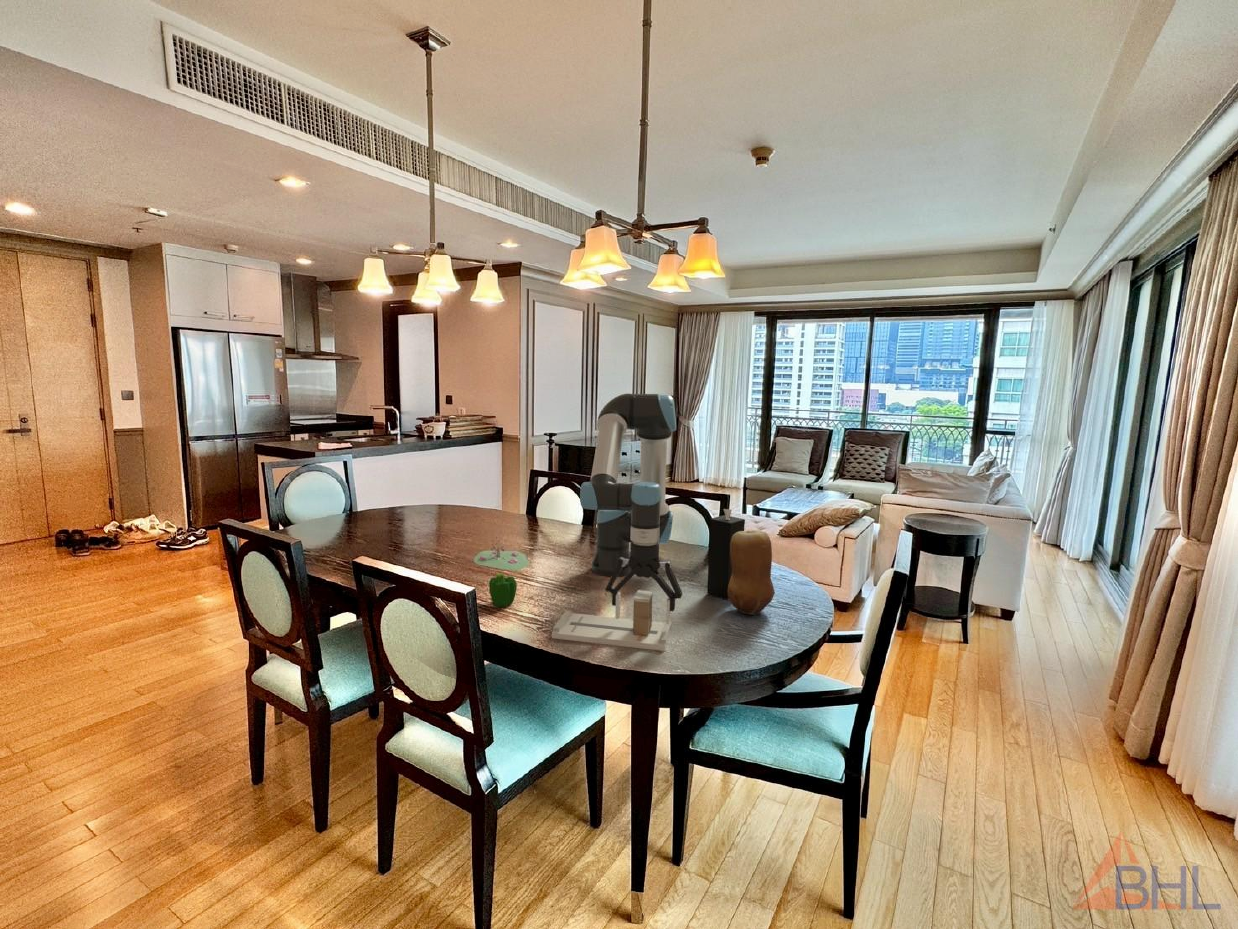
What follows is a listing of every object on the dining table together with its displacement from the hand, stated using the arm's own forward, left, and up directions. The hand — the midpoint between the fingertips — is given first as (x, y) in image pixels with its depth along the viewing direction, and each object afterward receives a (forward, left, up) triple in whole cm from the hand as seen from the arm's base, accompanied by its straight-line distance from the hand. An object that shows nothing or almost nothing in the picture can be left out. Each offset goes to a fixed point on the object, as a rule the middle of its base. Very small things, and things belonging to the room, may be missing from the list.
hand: (642, 619), depth 158 cm
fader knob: (0, 0, -3) cm, 3 cm away
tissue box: (-38, +20, -5) cm, 43 cm away
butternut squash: (-24, +28, -5) cm, 37 cm away
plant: (-52, -61, -5) cm, 80 cm away
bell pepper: (-12, -45, -5) cm, 47 cm away
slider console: (0, -8, -5) cm, 9 cm away
